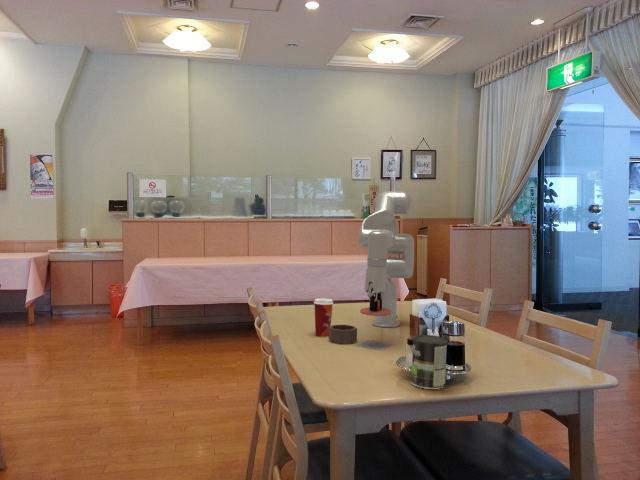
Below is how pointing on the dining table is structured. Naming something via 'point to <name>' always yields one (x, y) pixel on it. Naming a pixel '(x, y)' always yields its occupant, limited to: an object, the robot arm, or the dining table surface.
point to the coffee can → (429, 361)
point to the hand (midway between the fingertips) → (375, 309)
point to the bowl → (342, 334)
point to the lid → (378, 313)
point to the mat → (374, 345)
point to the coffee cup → (323, 316)
